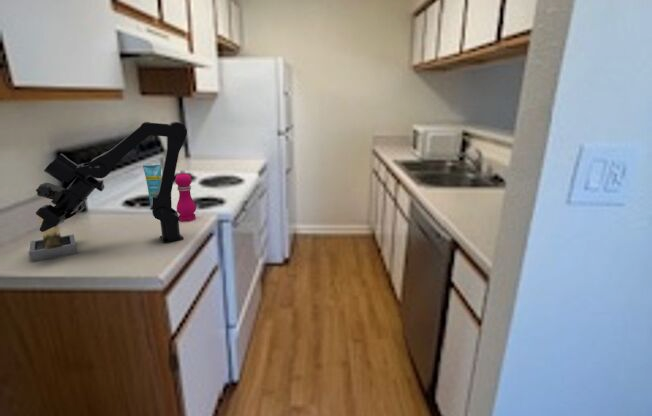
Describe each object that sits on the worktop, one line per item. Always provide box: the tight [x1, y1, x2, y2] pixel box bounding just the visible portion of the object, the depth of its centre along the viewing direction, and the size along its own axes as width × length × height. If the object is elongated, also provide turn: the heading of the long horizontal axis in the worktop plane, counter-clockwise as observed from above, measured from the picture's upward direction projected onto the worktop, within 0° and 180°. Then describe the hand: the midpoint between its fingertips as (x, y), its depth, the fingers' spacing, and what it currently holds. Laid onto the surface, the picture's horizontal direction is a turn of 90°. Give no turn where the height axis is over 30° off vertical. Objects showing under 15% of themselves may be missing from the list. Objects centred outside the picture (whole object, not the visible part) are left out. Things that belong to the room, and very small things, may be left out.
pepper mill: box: [174, 169, 197, 222], centre depth 150 cm, size 7×7×20 cm
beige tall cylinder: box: [36, 205, 62, 248], centre depth 117 cm, size 4×4×13 cm
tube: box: [142, 164, 162, 205], centre depth 167 cm, size 7×5×19 cm, turn 103°
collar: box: [28, 234, 78, 263], centre depth 119 cm, size 11×11×3 cm
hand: (45, 228), depth 117 cm, fingers closed on beige tall cylinder, 4 cm apart
